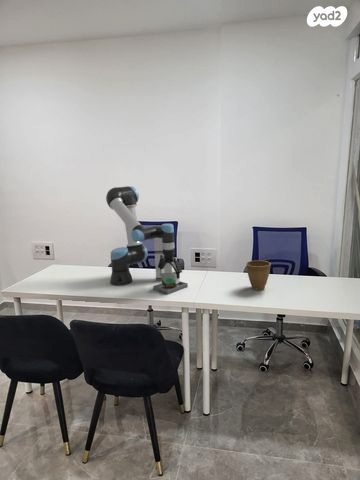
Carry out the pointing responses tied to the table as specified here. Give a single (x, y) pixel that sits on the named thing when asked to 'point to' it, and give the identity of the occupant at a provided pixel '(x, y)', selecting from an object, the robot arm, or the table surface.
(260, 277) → the plant pot
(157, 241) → the white tall box
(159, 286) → the grey shallow tray
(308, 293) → the table surface
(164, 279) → the food container
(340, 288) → the table surface
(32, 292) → the table surface
